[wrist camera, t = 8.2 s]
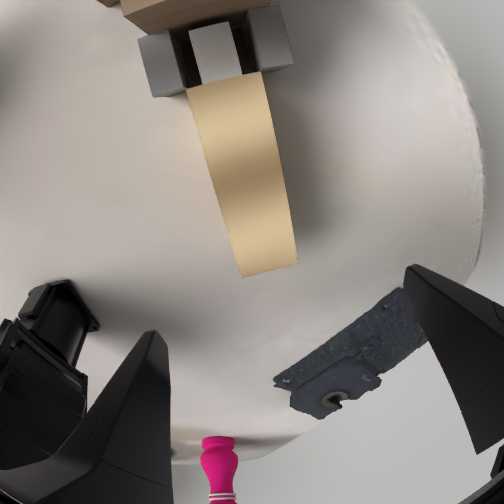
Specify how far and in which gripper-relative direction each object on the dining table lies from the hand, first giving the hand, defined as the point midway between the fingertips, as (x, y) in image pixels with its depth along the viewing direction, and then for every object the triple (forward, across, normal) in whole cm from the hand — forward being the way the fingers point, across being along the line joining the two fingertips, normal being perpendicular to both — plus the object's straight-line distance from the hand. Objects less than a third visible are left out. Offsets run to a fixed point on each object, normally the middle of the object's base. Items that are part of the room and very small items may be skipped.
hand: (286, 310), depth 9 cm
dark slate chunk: (+13, -9, +25) cm, 30 cm away
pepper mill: (+12, +17, +46) cm, 51 cm away
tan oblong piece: (+12, 0, -4) cm, 12 cm away
